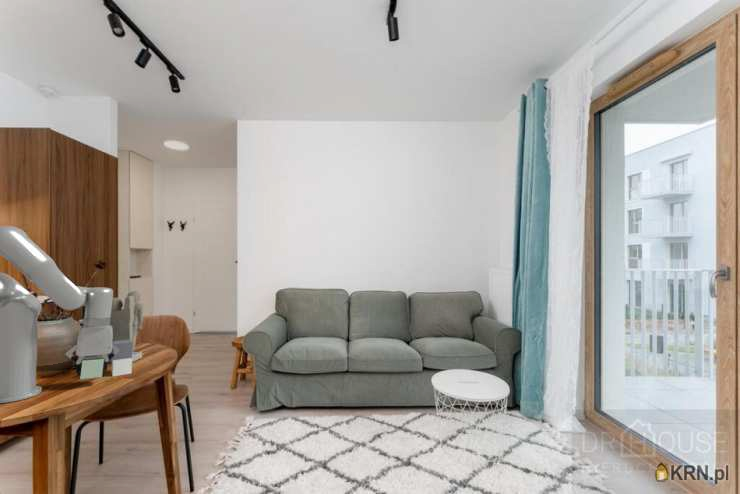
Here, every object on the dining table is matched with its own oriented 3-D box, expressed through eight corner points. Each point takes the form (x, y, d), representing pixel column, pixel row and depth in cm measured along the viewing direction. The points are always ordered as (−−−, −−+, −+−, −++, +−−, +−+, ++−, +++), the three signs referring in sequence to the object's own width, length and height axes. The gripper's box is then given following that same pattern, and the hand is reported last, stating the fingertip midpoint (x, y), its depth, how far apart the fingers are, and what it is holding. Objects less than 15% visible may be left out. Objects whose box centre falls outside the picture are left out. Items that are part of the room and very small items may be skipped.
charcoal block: (113, 360, 138) (113, 344, 138) (112, 356, 142) (112, 341, 143) (132, 357, 142) (132, 342, 142) (130, 354, 146) (130, 339, 146)
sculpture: (148, 358, 162) (150, 290, 163) (134, 363, 154) (136, 292, 155) (117, 357, 163) (119, 289, 164) (101, 362, 155) (104, 291, 156)
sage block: (80, 379, 125) (82, 361, 125) (80, 374, 129) (82, 357, 130) (101, 377, 128) (103, 359, 129) (101, 372, 133) (102, 355, 134)
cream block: (112, 376, 138) (113, 360, 138) (111, 372, 142) (111, 356, 142) (131, 373, 141) (132, 357, 142) (129, 369, 146) (130, 354, 146)
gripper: (65, 324, 122) (58, 379, 121) (127, 323, 133) (121, 373, 131) (66, 321, 128) (59, 374, 126) (124, 320, 138) (119, 368, 137)
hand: (91, 373), depth 129 cm, fingers closed on sage block, 6 cm apart
